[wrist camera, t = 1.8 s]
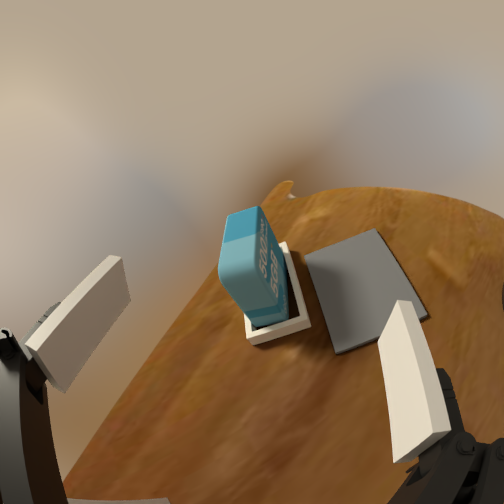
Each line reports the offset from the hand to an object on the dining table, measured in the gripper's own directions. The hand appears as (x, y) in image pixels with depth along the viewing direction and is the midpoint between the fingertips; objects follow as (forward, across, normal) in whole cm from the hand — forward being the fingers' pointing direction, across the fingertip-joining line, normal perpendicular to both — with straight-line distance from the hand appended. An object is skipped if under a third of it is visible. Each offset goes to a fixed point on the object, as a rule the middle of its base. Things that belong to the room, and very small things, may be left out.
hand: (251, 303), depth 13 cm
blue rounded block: (+23, 0, -17) cm, 29 cm away
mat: (+22, +12, -12) cm, 27 cm away
